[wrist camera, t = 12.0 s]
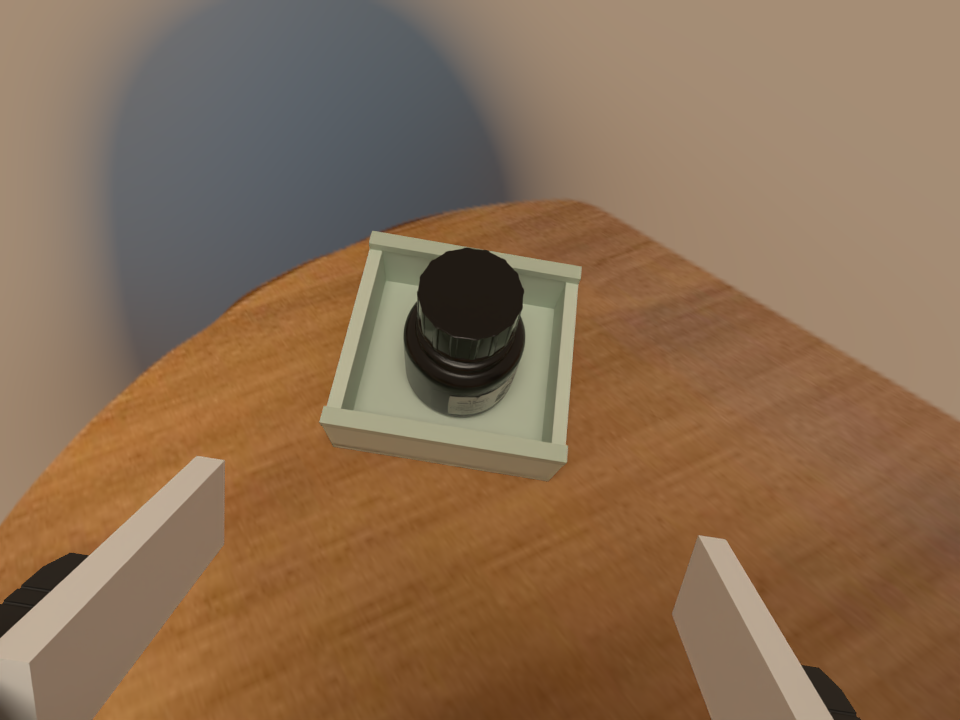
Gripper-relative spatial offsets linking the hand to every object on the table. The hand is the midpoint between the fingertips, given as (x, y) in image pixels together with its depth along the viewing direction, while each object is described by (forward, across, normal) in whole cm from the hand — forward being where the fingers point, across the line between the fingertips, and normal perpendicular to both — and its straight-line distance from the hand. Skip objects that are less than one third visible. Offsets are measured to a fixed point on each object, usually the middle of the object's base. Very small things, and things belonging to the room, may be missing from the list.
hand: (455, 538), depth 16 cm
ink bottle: (+30, -1, -6) cm, 31 cm away
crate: (+31, -2, -7) cm, 32 cm away
